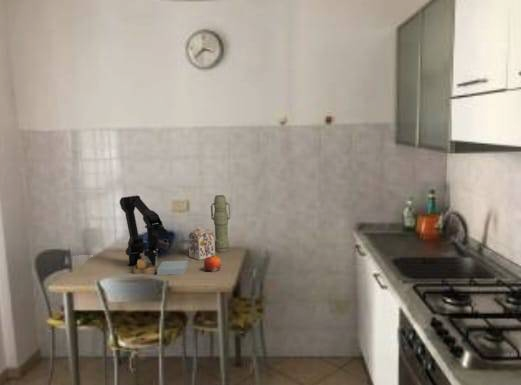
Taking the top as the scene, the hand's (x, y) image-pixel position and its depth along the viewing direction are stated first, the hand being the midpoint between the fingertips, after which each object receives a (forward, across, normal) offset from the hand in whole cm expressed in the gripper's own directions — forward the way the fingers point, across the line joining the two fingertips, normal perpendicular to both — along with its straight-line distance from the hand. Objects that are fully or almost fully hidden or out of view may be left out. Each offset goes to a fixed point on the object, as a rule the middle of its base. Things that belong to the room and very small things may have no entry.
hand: (154, 264), depth 269 cm
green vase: (+4, +40, -34) cm, 53 cm away
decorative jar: (+4, +27, -23) cm, 36 cm away
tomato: (+4, -2, -32) cm, 32 cm away
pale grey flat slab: (+4, 0, -10) cm, 11 cm away
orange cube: (+1, 0, +7) cm, 7 cm away
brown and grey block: (+4, 0, +4) cm, 6 cm away
